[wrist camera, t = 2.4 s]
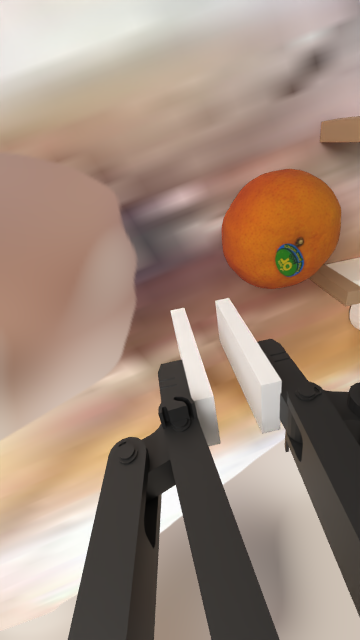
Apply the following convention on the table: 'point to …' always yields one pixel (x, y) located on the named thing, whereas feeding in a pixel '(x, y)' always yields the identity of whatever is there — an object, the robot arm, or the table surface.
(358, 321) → the cup
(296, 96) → the table surface
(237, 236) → the fruit
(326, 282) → the frame
